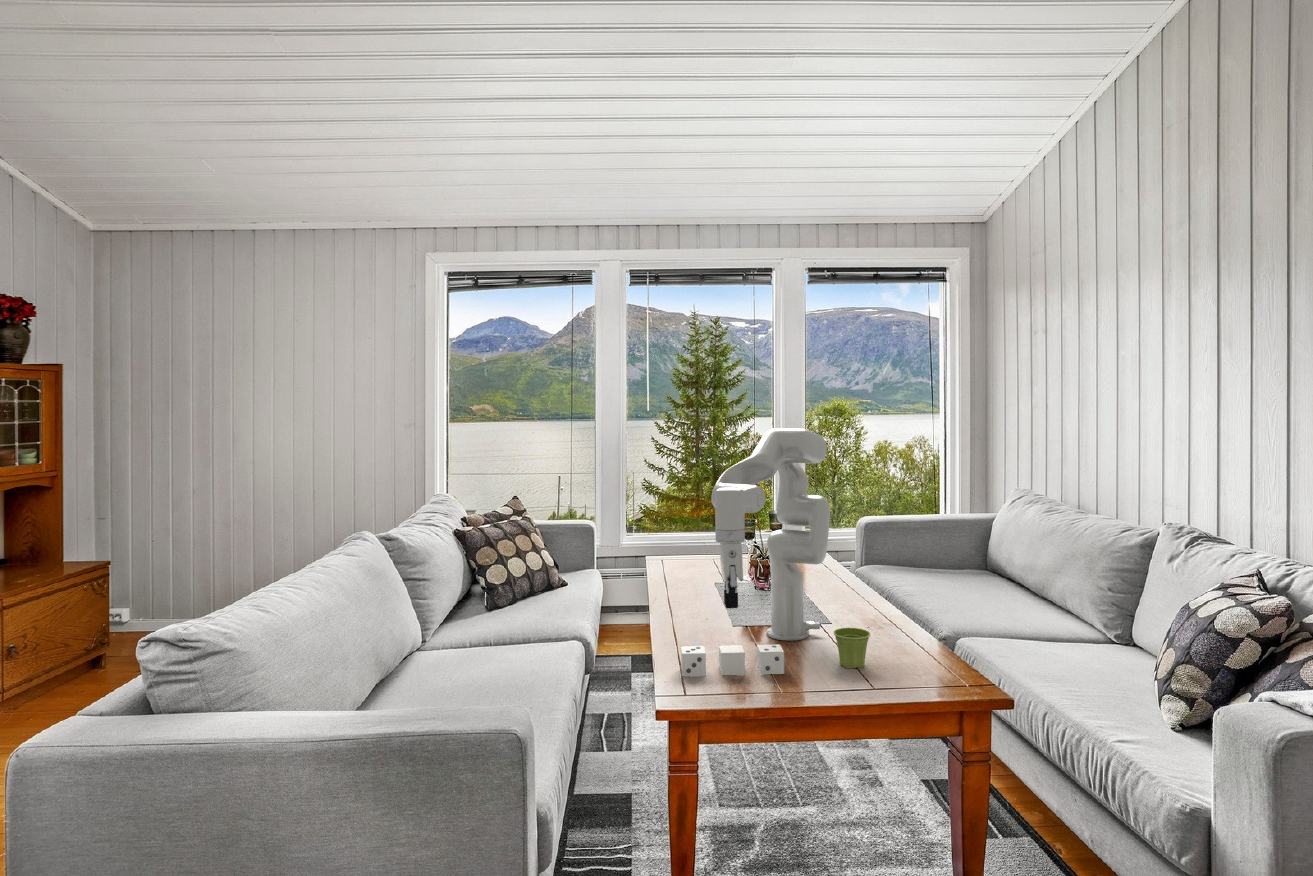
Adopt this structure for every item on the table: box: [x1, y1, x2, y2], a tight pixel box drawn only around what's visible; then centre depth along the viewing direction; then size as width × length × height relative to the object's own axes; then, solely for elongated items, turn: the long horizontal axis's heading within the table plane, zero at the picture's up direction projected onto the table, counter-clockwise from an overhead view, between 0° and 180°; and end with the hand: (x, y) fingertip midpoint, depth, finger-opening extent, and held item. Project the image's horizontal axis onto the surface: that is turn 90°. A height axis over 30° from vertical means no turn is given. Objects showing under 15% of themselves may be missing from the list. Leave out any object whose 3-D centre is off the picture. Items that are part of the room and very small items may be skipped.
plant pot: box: [833, 627, 871, 669], centre depth 205 cm, size 9×9×9 cm
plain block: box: [718, 644, 746, 676], centre depth 202 cm, size 6×6×6 cm
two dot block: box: [756, 644, 785, 675], centre depth 202 cm, size 6×6×6 cm
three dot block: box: [680, 645, 707, 677], centre depth 201 cm, size 6×6×6 cm
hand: (731, 605), depth 201 cm, fingers open, 2 cm apart
